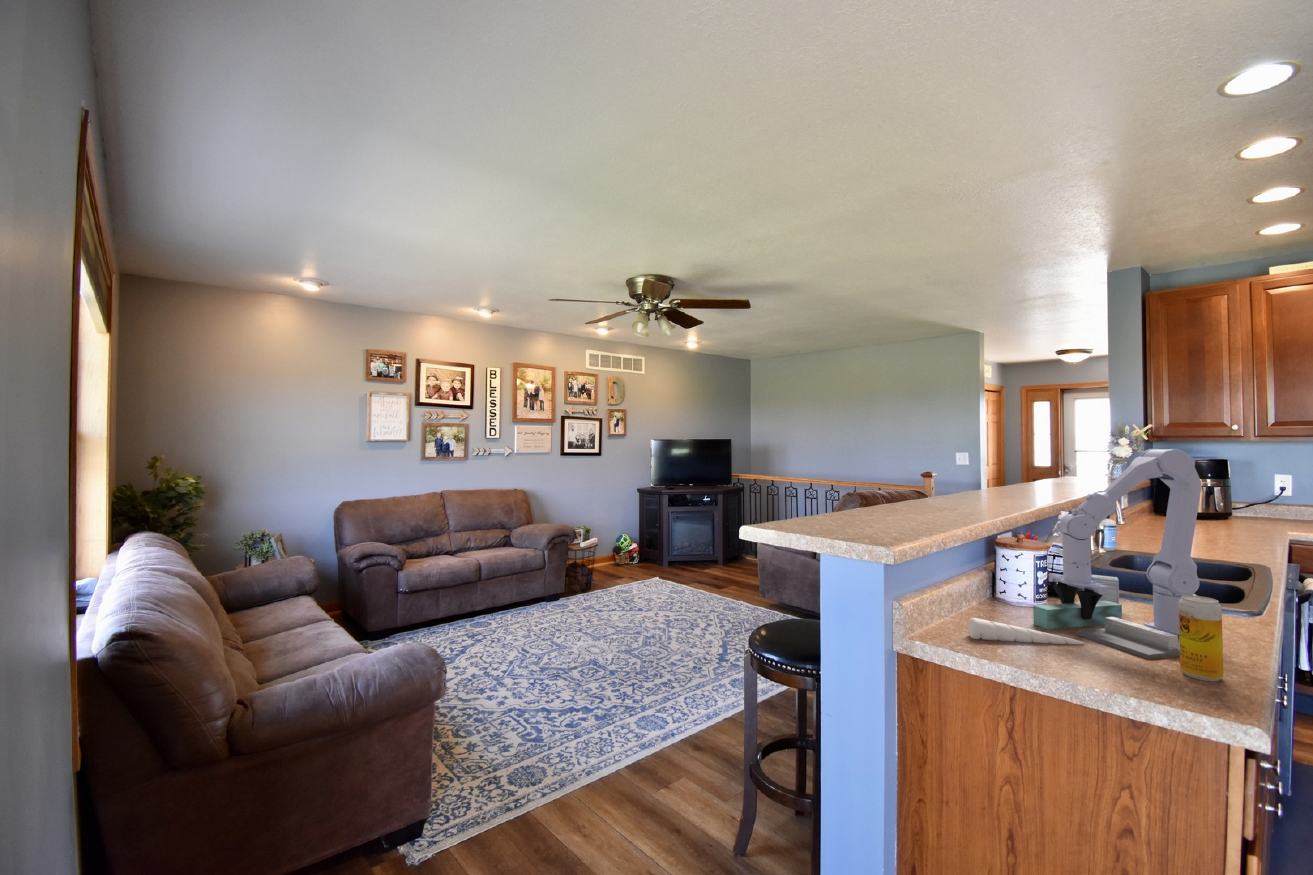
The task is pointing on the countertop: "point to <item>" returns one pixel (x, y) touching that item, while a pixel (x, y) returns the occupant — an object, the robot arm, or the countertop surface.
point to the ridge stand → (1135, 639)
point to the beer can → (1201, 637)
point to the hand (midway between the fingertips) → (1077, 616)
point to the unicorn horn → (1013, 633)
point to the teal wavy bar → (1073, 614)
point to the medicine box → (1112, 587)
